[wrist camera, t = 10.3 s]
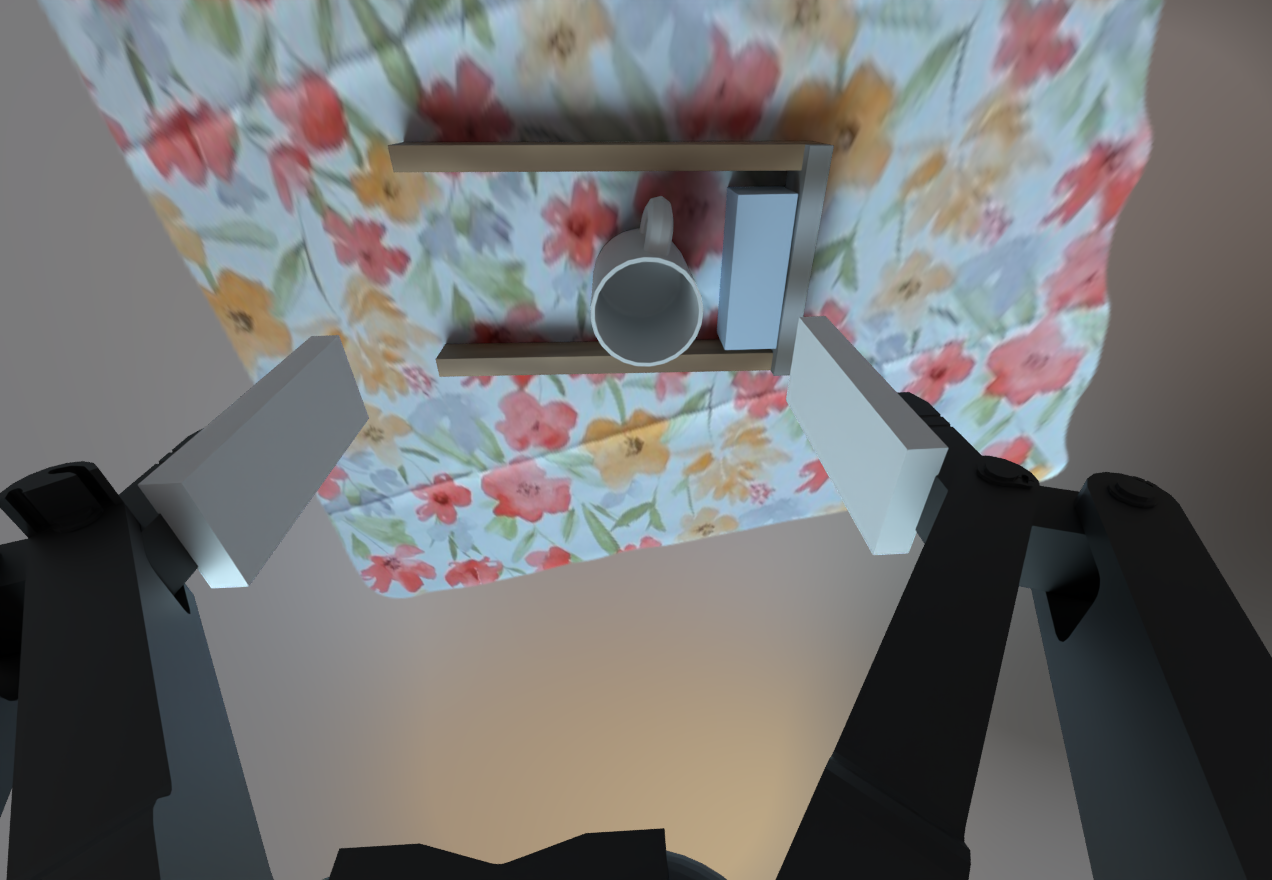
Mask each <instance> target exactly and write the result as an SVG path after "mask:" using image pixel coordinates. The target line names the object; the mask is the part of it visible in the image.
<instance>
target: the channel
mask: <svg viewBox="0 0 1272 880" xmlns="http://www.w3.org/2000/svg"><path fill="white" fill-rule="evenodd" d="M833 147H834V145H829V144H824V143H819V142H814V141H707V142H402V143H397V144H392V145H388V149H389V153H390V158H391V162H392V167H393V171H394V172H560V171H786V170H788V171H787V178H786V185H785V187H786V188H788V189H790V190H792V191H794V192H796V193H798V198H797V205H796V212H795V219H794V226H793V233H792V240H791V247H790V254H789V261H788V268H787V275H786V283H785V290H784V297H783V304H782V311H781V318H780V325H779V332H778V339H777V346H776V349H745V350H725V349H724V347H723V345H722V343H721V341H720V339H713V340H694V341H693V342H692V344H691V345H690V346H689V348H688V349H687V350H685V351H684V352H683V353H682V354H681V355H679V356H678V357H677V358H675V359H673V360H671V361H669V362H667V363H664V364H660V365H655V366H651V367H650V366H634V365H631V364H627V363H624V362H622V361H620V360H618V359H617V358H615V357H613V356H611V355H610V354H609V353H608V352H607V351H606V350H605V349H604V348H603V347H602V346H601V344H600V342H599V341H597V342H538V343H480V344H445V346H444V347H443V349H442V350H441V352H440V353H439V355H438V356H437V358H436V363H437V367H438V372H439V376H440V377H449V376H500V375H551V374H602V373H654V372H705V371H756V370H771V372H772V373H773V375H774V376H781V375H790V372H791V365H792V359H793V352H794V346H795V340H796V333H797V327H798V321H799V317H803V314H804V308H805V303H806V297H807V292H808V286H809V281H810V275H811V270H812V264H813V258H814V253H815V247H816V242H817V236H818V231H819V225H820V220H821V214H822V208H823V203H824V197H825V192H826V186H827V181H828V175H829V170H830V164H831V158H832V153H833Z"/></svg>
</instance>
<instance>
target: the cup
mask: <svg viewBox="0 0 1272 880" xmlns="http://www.w3.org/2000/svg"><path fill="white" fill-rule="evenodd" d="M672 235H673V214H672V208H671V204H670V202H669V201H668V200H666V199H665V198H664V197H662V196H659V197H655V198H651V199H650V200H649V202H648V204H647V205H646V207H645V209H644V212H643V215H642V220H641V225H640V229H633V230H629V231H624V232H622V233H621V234H619V235H617V236H615V237H613V238H612V239H611V240H610V241H609V242H608V243H607V244H606V245H605V246H604V247H603V249H602V251H601V252H600V254H599V256H598V258H597V261H596V264H595V268H594V271H593V284H592V297H591V323H592V327H593V330H594V334H595V336H596V337H597V339H598V341H599V342H600V344H601V346H602V347H603V348H604V349H605V350H606V351H607V352H608V353H609V354H610V355H611V356H613V357H615V358H617V359H618V360H620V361H622V362H624V363H627V364H631V365H634V366H650V367H651V366H655V365H660V364H664V363H667V362H669V361H671V360H673V359H675V358H677V357H678V356H679V355H681V354H682V353H683V352H684V351H685V350H687V349H688V348H689V346H690V345H691V344H692V342H693V341H694V340H695V338H696V336H697V334H698V332H699V329H700V327H701V324H702V317H703V304H702V297H701V294H700V292H699V289H698V287H697V285H696V283H695V281H694V279H693V276H692V274H691V272H690V270H689V268H688V266H687V264H686V262H685V260H684V258H683V256H682V254H681V252H680V250H679V249H678V248H677V247H676V246H675V244H674V243H673V242H672Z"/></svg>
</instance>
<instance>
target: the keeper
mask: <svg viewBox="0 0 1272 880" xmlns="http://www.w3.org/2000/svg"><path fill="white" fill-rule="evenodd" d="M797 198H798V193H796V192H794V191H792V190H790V189H788V188H786V187H784V186H754V187H727V200H726V213H725V227H724V240H723V253H722V267H721V280H720V293H719V306H718V320H717V334H718V336H719V338H720V341H721V343H722V345H723V347H724V349H725V350H745V349H776V346H777V339H778V332H779V325H780V318H781V311H782V304H783V297H784V290H785V283H786V275H787V268H788V261H789V254H790V247H791V240H792V233H793V226H794V219H795V212H796V205H797Z"/></svg>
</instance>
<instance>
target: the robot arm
mask: <svg viewBox="0 0 1272 880" xmlns="http://www.w3.org/2000/svg"><path fill="white" fill-rule="evenodd" d="M786 401H787V403H788V405H789V406H790V408H791V410H792V412H793V414H794V415H795V417H796V419H797V421H798V422H799V424H800V426H801V428H802V430H803V431H804V433H805V435H806V437H807V438H808V440H809V442H810V444H811V446H812V447H813V449H814V451H815V453H816V454H817V456H818V458H819V460H820V462H821V463H822V465H823V467H824V469H825V470H826V472H827V474H828V476H829V478H830V479H831V481H832V483H833V485H834V486H835V488H836V490H837V492H838V494H839V495H840V497H841V499H842V501H843V502H844V504H845V506H846V508H847V510H848V511H849V513H850V515H851V517H852V518H853V520H854V522H855V524H856V526H857V527H858V529H859V531H860V533H861V534H862V536H863V538H864V540H865V542H866V543H867V545H868V547H869V549H870V550H871V552H872V554H873V555H883V554H903V553H909V550H910V548H911V545H912V543H913V540H914V537H915V535H916V532H917V533H918V535H919V536H920V537H921V539H922V541H923V542H924V543H925V545H924V547H923V549H922V551H921V554H920V556H919V558H918V561H917V563H916V565H915V567H914V570H913V572H912V574H911V577H910V579H909V581H908V584H907V586H906V588H905V590H904V592H903V595H902V597H901V599H900V602H899V604H898V606H897V608H896V611H895V613H894V615H893V618H892V620H891V622H890V624H889V627H888V629H887V631H886V633H885V636H884V638H883V640H882V643H881V645H880V647H879V650H878V652H877V654H876V656H875V659H874V661H873V663H872V665H871V668H870V670H869V672H868V675H867V677H866V679H865V682H864V684H863V686H862V688H861V690H860V693H859V695H858V697H857V700H856V702H855V704H854V707H853V709H852V711H851V713H850V716H849V718H848V720H847V722H846V725H845V727H844V729H843V732H842V734H841V736H840V739H839V741H838V743H837V745H836V747H835V750H834V752H833V754H832V756H831V757H830V759H829V761H828V763H827V765H826V767H825V769H824V771H823V774H822V776H821V778H820V781H819V783H818V785H817V787H816V790H815V792H814V794H813V796H812V798H811V801H810V803H809V805H808V808H807V810H806V812H805V814H804V817H803V819H802V821H801V823H800V826H799V828H798V830H797V832H796V835H795V837H794V839H793V842H792V844H791V846H790V849H789V851H788V853H787V855H786V857H785V860H784V862H783V865H782V866H781V869H780V871H779V873H778V876H777V878H776V880H968V879H969V872H970V865H971V862H970V861H971V859H970V849H969V848H968V847H967V845H966V844H965V843H964V833H965V827H966V822H967V817H968V813H969V808H970V803H971V799H972V794H973V790H974V786H975V781H976V777H977V772H978V768H979V763H980V759H981V754H982V750H983V745H984V741H985V736H986V731H987V727H988V722H989V718H990V713H991V709H992V704H993V700H994V695H995V691H996V686H997V682H998V677H999V673H1000V668H1001V664H1002V659H1003V655H1004V650H1005V646H1006V641H1007V637H1008V632H1009V628H1010V623H1011V618H1012V614H1013V610H1014V605H1015V601H1016V596H1017V592H1018V587H1019V586H1021V587H1026V588H1031V590H1032V595H1033V599H1034V604H1035V609H1036V614H1037V618H1038V623H1039V627H1040V632H1041V637H1042V641H1043V646H1044V651H1045V655H1046V659H1047V664H1048V669H1049V674H1050V679H1051V683H1052V688H1053V692H1054V697H1055V702H1056V706H1057V711H1058V716H1059V720H1060V725H1061V730H1062V734H1063V739H1064V744H1065V748H1066V753H1067V758H1068V762H1069V767H1070V772H1071V776H1072V780H1073V785H1074V790H1075V794H1076V799H1077V804H1078V809H1079V813H1080V818H1081V822H1082V827H1083V832H1084V837H1085V841H1086V846H1087V850H1088V855H1089V859H1090V864H1091V869H1092V874H1093V878H1094V880H1272V657H1271V656H1270V654H1269V652H1268V651H1267V649H1266V647H1265V646H1264V644H1263V642H1262V641H1261V639H1260V637H1259V636H1258V634H1257V632H1256V631H1255V629H1254V627H1253V626H1252V624H1251V622H1250V621H1249V619H1248V618H1247V616H1246V614H1245V612H1244V611H1243V609H1242V608H1241V606H1240V604H1239V602H1238V601H1237V599H1236V597H1235V596H1234V594H1233V592H1232V591H1231V589H1230V587H1229V586H1228V584H1227V582H1226V581H1225V579H1224V577H1223V576H1222V574H1221V573H1220V571H1219V569H1218V568H1217V566H1216V564H1215V563H1214V561H1213V560H1212V558H1211V556H1210V554H1209V553H1208V551H1207V549H1206V548H1205V546H1204V545H1203V543H1202V541H1201V539H1200V538H1199V536H1198V535H1197V533H1196V531H1195V529H1194V528H1193V526H1192V524H1191V523H1190V521H1189V520H1188V518H1187V516H1186V514H1185V513H1184V511H1183V509H1182V508H1181V506H1180V504H1179V503H1178V502H1177V501H1176V500H1175V499H1174V498H1173V497H1172V496H1171V495H1170V494H1168V493H1167V492H1165V491H1164V490H1162V489H1161V488H1159V487H1158V486H1157V485H1155V484H1153V483H1151V482H1149V481H1145V480H1144V479H1141V478H1138V477H1135V476H1133V477H1132V476H1128V475H1124V474H1120V473H1110V472H1103V473H1096V474H1093V475H1092V476H1090V477H1089V478H1087V480H1086V482H1085V483H1084V485H1083V487H1082V489H1081V490H1080V492H1078V491H1071V490H1063V489H1057V488H1051V487H1044V486H1040V485H1039V481H1038V480H1037V479H1036V477H1035V476H1034V475H1033V474H1032V473H1031V472H1030V471H1028V470H1026V469H1025V468H1023V467H1022V466H1020V465H1018V464H1016V463H1013V462H1011V461H1008V460H1006V459H1002V458H997V457H993V456H982V455H981V454H980V453H979V452H978V451H977V450H976V449H975V448H974V447H973V446H972V445H971V444H970V443H969V442H968V441H967V440H966V439H965V438H964V437H963V436H962V435H961V434H960V433H959V432H958V431H956V430H955V429H954V428H953V427H950V424H949V423H948V422H947V421H946V420H945V419H944V418H943V417H940V414H939V413H938V412H937V411H936V410H935V409H934V408H933V407H932V406H931V405H930V404H929V403H928V402H927V401H925V400H923V399H921V398H919V397H917V396H915V395H914V394H912V393H910V392H901V393H897V392H896V391H895V390H894V389H893V388H892V387H891V386H890V385H889V384H888V383H887V382H886V380H885V379H884V378H883V377H882V376H881V375H880V374H879V373H878V372H877V371H876V370H875V369H874V368H873V367H872V365H871V364H870V363H869V362H868V361H867V360H866V359H865V358H864V357H863V356H862V355H861V354H860V353H859V352H858V351H857V349H856V348H855V347H854V346H853V345H852V344H851V343H850V342H849V341H848V340H847V339H846V338H845V337H844V336H843V334H842V333H841V332H840V331H839V330H838V329H837V328H836V327H835V326H834V325H833V324H832V323H831V322H830V321H829V319H828V318H827V317H826V316H816V317H799V321H798V327H797V333H796V340H795V346H794V352H793V359H792V365H791V372H790V378H789V384H788V391H787V397H786ZM368 419H369V417H368V414H367V411H366V409H365V406H364V403H363V400H362V398H361V395H360V392H359V389H358V387H357V384H356V381H355V378H354V376H353V373H352V370H351V367H350V365H349V362H348V359H347V356H346V354H345V351H344V348H343V345H342V343H341V340H340V337H339V335H334V336H311V337H310V338H309V339H308V340H307V341H305V342H304V343H303V344H302V345H301V346H300V347H298V348H297V349H296V350H295V351H294V352H292V353H291V354H290V355H289V356H288V357H287V358H285V359H284V360H283V361H282V362H281V363H280V364H278V365H277V366H276V367H275V368H274V369H273V370H271V371H270V372H269V373H268V374H267V375H266V376H264V377H263V378H262V379H261V380H260V381H259V382H257V383H256V384H255V385H254V386H253V387H252V388H250V389H249V390H248V391H247V392H246V393H244V394H243V395H242V396H241V397H240V398H239V399H237V400H236V401H235V402H234V403H233V404H232V405H231V406H229V407H228V408H227V409H226V410H225V411H223V412H222V413H221V414H220V415H219V416H218V417H216V418H215V419H214V420H213V421H212V422H211V423H209V424H208V425H207V426H206V427H205V428H203V429H201V430H199V431H197V432H195V433H194V434H192V435H190V436H188V437H187V438H186V439H185V440H184V441H182V442H181V443H180V444H179V445H177V446H176V447H175V448H174V449H173V450H172V451H173V452H172V453H168V454H167V455H166V456H164V457H163V458H162V459H161V460H160V461H159V464H155V465H154V466H152V467H151V468H150V469H149V470H148V471H147V472H145V473H144V474H143V475H142V476H141V477H139V478H138V479H137V480H136V481H135V482H133V483H132V484H131V485H130V486H129V487H127V488H126V489H125V490H124V491H123V492H122V493H120V494H119V495H118V494H117V492H116V491H115V490H114V488H113V487H112V486H111V484H110V483H109V482H108V480H107V479H106V478H105V476H104V475H103V474H102V472H101V471H100V470H99V469H98V467H97V466H96V465H95V464H94V463H90V462H84V461H81V462H72V463H65V464H61V465H57V466H54V467H49V468H46V469H44V470H41V471H39V472H36V473H33V474H31V475H28V476H26V477H25V478H23V479H21V480H19V481H17V482H15V483H13V484H12V485H10V486H9V487H8V488H6V489H5V490H4V491H2V492H1V493H0V508H1V509H2V510H3V511H4V512H5V513H6V514H7V515H8V516H9V518H10V519H11V520H12V521H13V522H14V523H15V524H16V525H17V526H18V527H19V528H20V529H21V530H22V532H23V533H24V534H25V535H26V536H27V537H28V539H24V540H20V541H15V542H11V543H7V544H2V545H0V817H1V814H2V812H3V809H4V806H5V804H6V802H7V799H8V796H9V794H10V791H11V789H12V803H11V818H10V834H9V849H8V866H7V880H274V879H273V876H272V873H271V871H270V867H269V864H268V860H267V857H266V853H265V849H264V846H263V842H262V839H261V835H260V832H259V828H258V824H257V821H256V817H255V813H254V810H253V806H252V803H251V799H250V795H249V792H248V788H247V785H246V781H245V778H244V774H243V770H242V767H241V763H240V759H239V756H238V753H237V749H236V745H235V741H234V738H233V734H232V731H231V727H230V723H229V720H228V716H227V713H226V709H225V705H224V702H223V698H222V695H221V691H220V688H219V684H218V680H217V677H216V673H215V669H214V666H213V663H212V659H211V655H210V652H209V648H208V644H207V641H206V637H205V634H204V630H203V626H202V623H201V619H200V615H199V612H198V608H197V605H196V601H195V597H194V595H193V593H192V592H191V591H190V590H189V588H188V587H187V586H186V584H185V582H186V581H187V580H188V579H189V577H190V576H191V575H192V574H193V573H194V571H195V570H196V569H198V570H199V571H200V573H201V574H202V576H203V577H204V578H205V580H206V581H207V583H208V584H209V585H210V587H211V588H228V587H245V586H246V587H247V586H250V584H251V583H252V582H253V580H254V579H255V577H256V576H257V575H258V573H259V572H260V570H261V569H262V568H263V566H264V565H265V563H266V562H267V560H268V559H269V558H270V556H271V555H272V554H273V552H274V551H275V549H276V548H277V547H278V545H279V544H280V542H281V541H282V540H283V538H284V537H285V535H286V534H287V532H288V531H289V530H290V528H291V527H292V525H293V524H294V523H295V521H296V520H297V518H298V517H299V515H300V514H301V513H302V511H303V510H304V509H305V507H306V506H307V504H308V503H309V502H310V500H311V499H312V497H313V496H314V495H315V493H316V492H317V490H318V489H319V488H320V486H321V485H322V483H323V482H324V481H325V479H326V478H327V476H328V475H329V474H330V472H331V471H332V469H333V468H334V467H335V465H336V464H337V462H338V461H339V460H340V458H341V457H342V455H343V454H344V453H345V451H346V450H347V448H348V447H349V446H350V444H351V443H352V441H353V440H354V439H355V437H356V436H357V434H358V433H359V432H360V430H361V429H362V427H363V426H364V424H365V423H366V422H367V420H368ZM323 880H727V879H725V878H724V877H723V876H722V875H720V874H719V873H717V872H715V871H714V870H712V869H710V868H709V867H707V866H706V865H704V864H702V863H700V862H698V861H695V860H693V859H691V858H688V857H686V856H684V855H680V854H677V853H673V852H670V851H666V843H665V830H664V828H663V829H648V830H632V831H631V830H630V831H614V832H599V833H585V834H582V835H580V836H577V837H574V838H572V839H569V840H566V841H564V842H561V843H558V844H556V845H553V846H551V847H548V848H545V849H542V850H540V851H537V852H534V853H532V854H529V855H526V856H524V857H521V858H518V859H516V860H513V861H510V862H507V863H504V864H492V863H488V862H484V861H481V860H477V859H474V858H470V857H466V856H462V855H459V854H456V853H452V852H448V851H445V850H441V849H437V848H433V847H430V846H427V845H423V844H405V845H391V846H373V847H357V848H341V849H339V851H338V854H337V857H336V860H335V863H334V866H333V869H332V872H331V874H330V877H328V878H325V879H323Z"/></svg>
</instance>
